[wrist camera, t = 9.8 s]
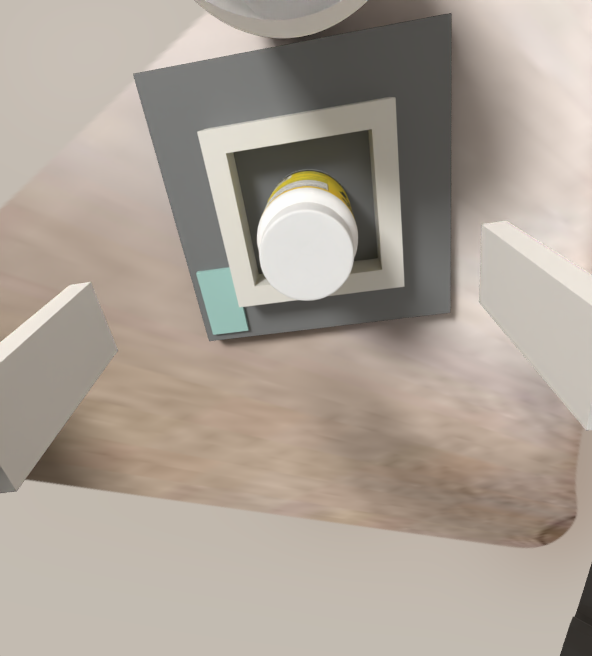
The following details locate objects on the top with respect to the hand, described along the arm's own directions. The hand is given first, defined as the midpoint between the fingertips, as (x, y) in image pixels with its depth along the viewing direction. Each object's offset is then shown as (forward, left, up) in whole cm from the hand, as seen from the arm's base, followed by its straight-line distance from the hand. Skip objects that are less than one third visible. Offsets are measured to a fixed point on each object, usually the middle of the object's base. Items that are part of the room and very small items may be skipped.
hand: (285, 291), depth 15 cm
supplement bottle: (+1, 0, -12) cm, 12 cm away
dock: (+1, 0, -13) cm, 13 cm away
